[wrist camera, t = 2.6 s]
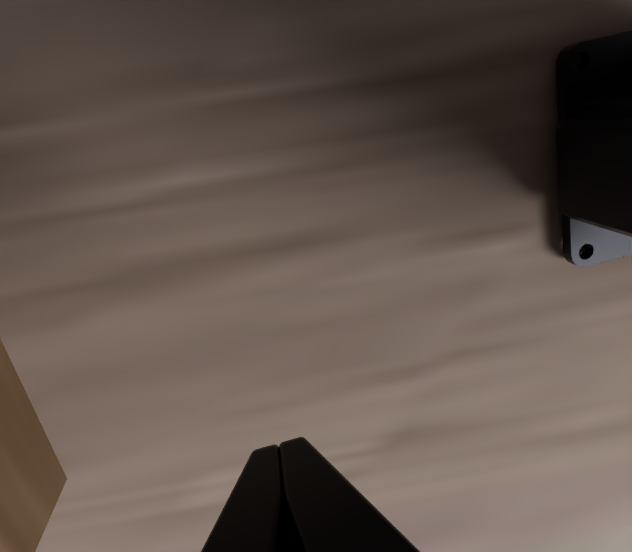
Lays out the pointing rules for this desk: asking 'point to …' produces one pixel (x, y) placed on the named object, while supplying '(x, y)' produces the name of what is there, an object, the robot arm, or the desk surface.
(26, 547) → the tile
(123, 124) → the desk surface
